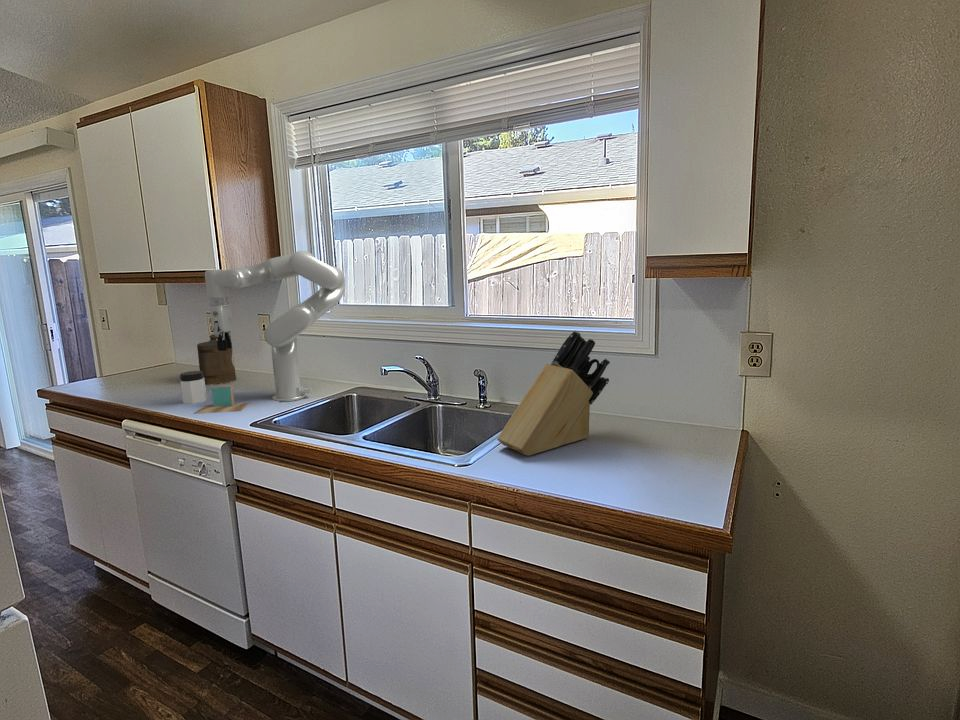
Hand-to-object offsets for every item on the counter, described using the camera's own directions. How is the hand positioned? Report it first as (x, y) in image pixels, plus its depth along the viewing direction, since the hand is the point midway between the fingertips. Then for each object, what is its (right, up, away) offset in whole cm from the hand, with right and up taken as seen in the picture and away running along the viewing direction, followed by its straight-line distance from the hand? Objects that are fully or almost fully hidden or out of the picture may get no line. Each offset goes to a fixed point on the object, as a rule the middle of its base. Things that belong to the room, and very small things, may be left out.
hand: (225, 348), depth 214 cm
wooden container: (-23, -14, +43) cm, 51 cm away
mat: (+3, -23, -7) cm, 24 cm away
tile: (+1, -22, -3) cm, 22 cm away
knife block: (+121, -28, -54) cm, 136 cm away
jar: (-14, -21, +6) cm, 26 cm away
